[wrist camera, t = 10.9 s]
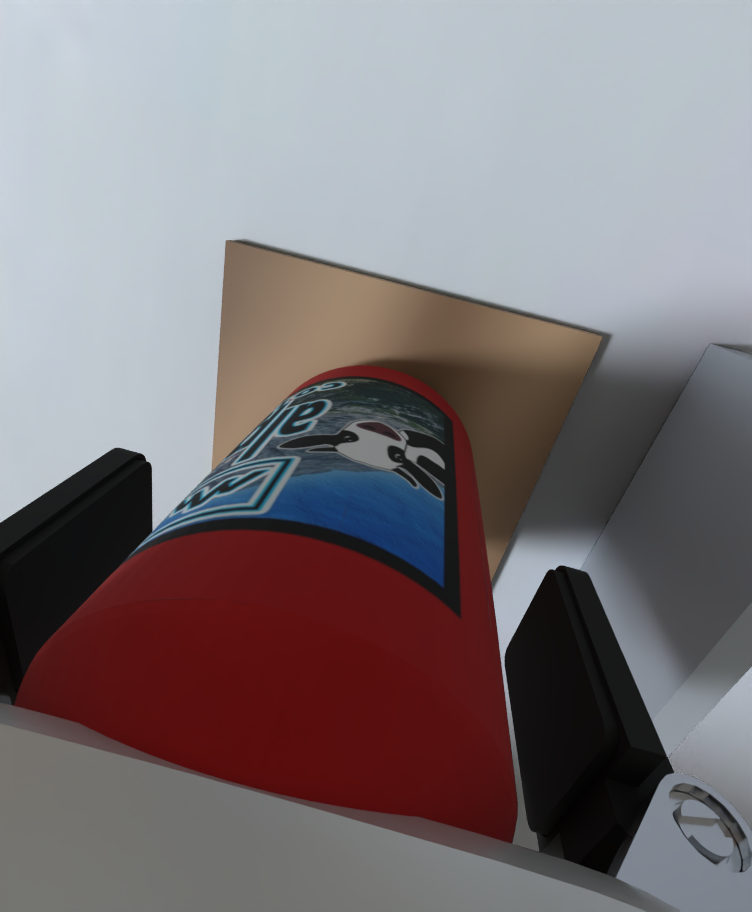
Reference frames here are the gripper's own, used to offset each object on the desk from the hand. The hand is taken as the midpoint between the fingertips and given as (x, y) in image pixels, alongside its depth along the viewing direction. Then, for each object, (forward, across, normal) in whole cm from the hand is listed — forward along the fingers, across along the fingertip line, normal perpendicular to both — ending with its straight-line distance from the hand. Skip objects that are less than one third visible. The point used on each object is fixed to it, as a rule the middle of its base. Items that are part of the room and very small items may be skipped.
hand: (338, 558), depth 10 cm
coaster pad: (+6, 0, 0) cm, 6 cm away
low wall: (+6, -9, 0) cm, 11 cm away
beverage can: (+6, 0, 0) cm, 6 cm away
